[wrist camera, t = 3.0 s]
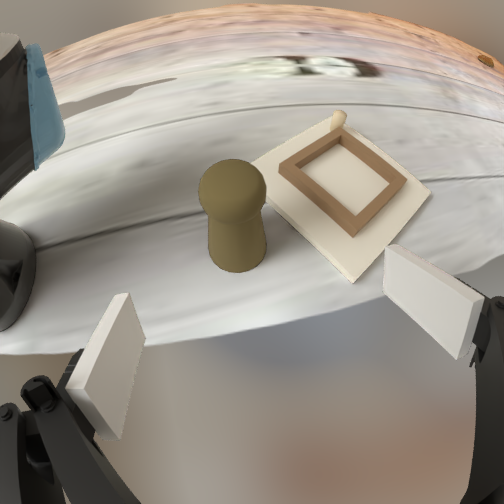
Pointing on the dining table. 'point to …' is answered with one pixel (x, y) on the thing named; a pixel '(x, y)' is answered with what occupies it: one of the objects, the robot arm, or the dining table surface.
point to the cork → (234, 214)
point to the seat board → (340, 192)
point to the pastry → (486, 60)
